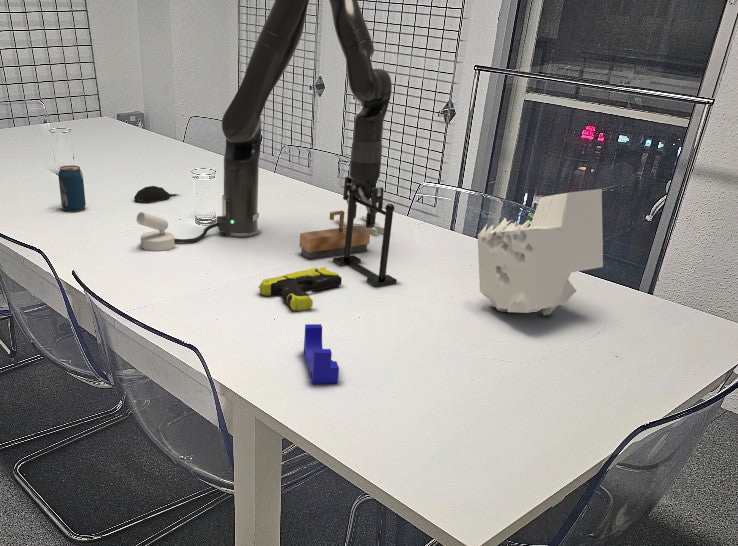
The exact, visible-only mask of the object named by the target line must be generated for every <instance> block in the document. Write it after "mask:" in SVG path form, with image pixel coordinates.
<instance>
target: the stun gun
mask: <svg viewBox="0 0 738 546" xmlns="http://www.w3.org/2000/svg"><path fill="white" fill-rule="evenodd" d="M342 280H343V279H342V276H340V274H339V273H337V272H335V271H331V270H329V269H327V267H325V266H321V267H320V268H319V267H314V268H310V269H303V270H299V271H293V272H290V273H286V274H284V275H280V276H275V277H274V276H273V277H270V278H264V279H263V280H262V281H261V283H260V285H257V288H259V293H260V294H261V295H263V296H267V297H269V296H274V295H277V294H282V299H283V301H284V302H285V304H287V305H288V306H289V307H290V309H292V311H296V312H297V311H306V310H309V309H311V308H312V307H313V305H314V304H313V303H314V301H313V299H312V298H311V296H309V295H308V294H307V292H311V291H320V290H324V289H325V290H326V289H329V288H334V287H338V286H341V285H342V282H343V281H342Z"/></svg>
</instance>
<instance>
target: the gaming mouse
mask: <svg viewBox="0 0 738 546" xmlns="http://www.w3.org/2000/svg"><path fill="white" fill-rule="evenodd" d="M173 196H177V193H170V192H168V191H166V189H165V188H164V187H160V186H156V185H149V186H145V187H143V188H141V189H139V190H138V191H137V192H136V193H135V195H134V196H133V199H134V201H136V202H140V203H154V202H159V201H164V200H169V199H170V198H171V197H173Z"/></svg>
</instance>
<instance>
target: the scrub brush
mask: <svg viewBox="0 0 738 546" xmlns="http://www.w3.org/2000/svg"><path fill="white" fill-rule="evenodd" d="M335 216H339V219H338V220H339V223H338V227H336V228H328V229H320V230H314V231H307V232H306V231H305V232H300V233H299V248H300V249H301V250H300V254H301V255H302V256H303V257H304V258H306V259H308V260H315V259H324V258H329V257H337V256H344V251H345V240H346V228H347V227H345V226H343V224H344V222H345V211H344V210H335V211H330V212H329V220H331V221H334V220H335ZM370 232H371V231H370V230H369V229H367V228H365V227H363V225H362V226H361V225H358V226H353V234H352V246H351V254H355V253H364V252H367V251H368V250H367V249H368V245H370V240H371V233H370Z"/></svg>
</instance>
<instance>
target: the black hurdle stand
mask: <svg viewBox="0 0 738 546" xmlns="http://www.w3.org/2000/svg"><path fill="white" fill-rule="evenodd" d="M356 194H357V189H356V188H350V189H349V191H348V195H349V204H347V213H348V214H347V219H346V223H347V228H346V240H345V251H344V254H343V255H342V256H338V257H337V256H336V257H333V258H332V263H334V264H336V265H337V266H339V267H344V266H349V267H350V268H352V269H354V270H356V271H357V272H359V273H361V274H362V275H364V276H366V283H367V284H369V285H370V286H373V287H375V288H378V287H383V286H389V285H395V284H397V283H398V282H397V281H398V280H397V279H396V278H395V277H393V276H391V275H389V274H387V269H388V259H389V250H390V242H391V233H392V226H393V225H392V224H393V217H394V216H393V215H394V211H395V205H394V204H393V203H388V204H386V205H385V208H384V209H385V210H383V209H382V210H381V209H379V208H377V207H378V206H377V207H375V206H373V205H370V204H368V203H366V202H364V201H362V200H360V199H357V198H356ZM355 202H357V203H355ZM355 204H360V205H362V206H364V207H365V208H366V207H368V208H370V209H373V210H375V211H377V213H379V214H382V215H383V216H384V226H383V227H384V233H383V234H382V241H381V250H380V251H381V252H380V261H379V268H378V269H379V270H378V274H376V273H375V272H373V271H371V270H369V269H367V268H366V267H365V266H363V265H360V264H361V263H362V258H359V257H358V256H356V255H355V254H352V253H351V246H352V234H353V223H354V221H355V219H354V212H355ZM354 224H355V223H354Z"/></svg>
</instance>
